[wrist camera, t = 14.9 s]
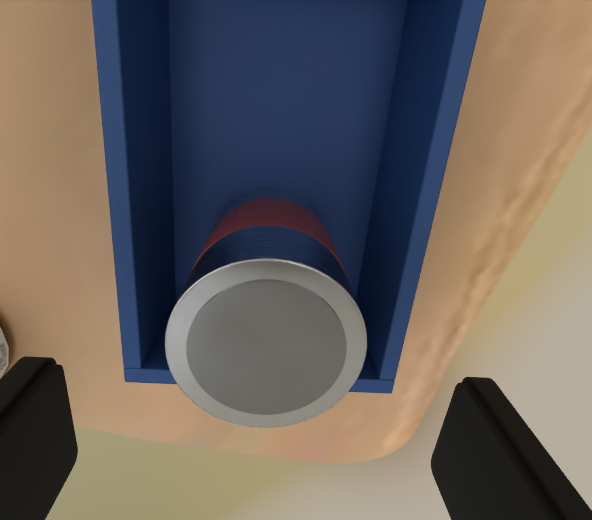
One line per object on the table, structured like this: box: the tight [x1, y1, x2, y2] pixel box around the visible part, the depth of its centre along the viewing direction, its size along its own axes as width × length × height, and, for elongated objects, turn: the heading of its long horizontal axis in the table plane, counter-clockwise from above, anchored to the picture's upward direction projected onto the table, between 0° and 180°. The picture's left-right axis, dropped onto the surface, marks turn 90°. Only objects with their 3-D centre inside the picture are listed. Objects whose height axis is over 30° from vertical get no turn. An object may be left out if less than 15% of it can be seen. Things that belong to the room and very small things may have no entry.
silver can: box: [165, 186, 367, 428], centre depth 17 cm, size 7×7×11 cm
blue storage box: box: [91, 0, 486, 393], centre depth 18 cm, size 19×13×7 cm
